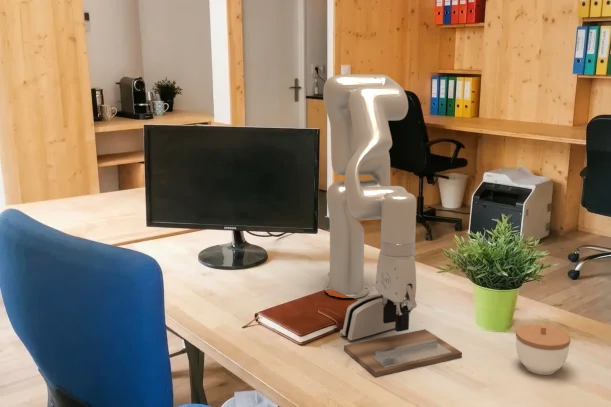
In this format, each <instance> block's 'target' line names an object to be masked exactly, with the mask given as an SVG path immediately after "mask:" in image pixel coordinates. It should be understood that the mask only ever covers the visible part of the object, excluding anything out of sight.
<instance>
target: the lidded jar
mask: <svg viewBox="0 0 611 407" xmlns="http://www.w3.org/2000/svg"><path fill="white" fill-rule="evenodd" d="M515 338H516V339H515V348H516V354H517V357H518V358H519V361H520V362H521V363H522V365H523V366H524V367H525V369H526V370H527V371H528V372H530V373H532V374H535V375H542V376H550V375H554V374H555V373H556V372H557V371H558V370H559V369H561V368H562V367H563V366H564V364H565V363H566V361H567V359H568V355H569V351H570V344H571V337H570V335H569V334H568V333H566V331H564V330H562V329H559V328H556V327H554V326H549V325H545V324H525V325H522V326H519V327H518V328H516V330H515Z"/></svg>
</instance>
